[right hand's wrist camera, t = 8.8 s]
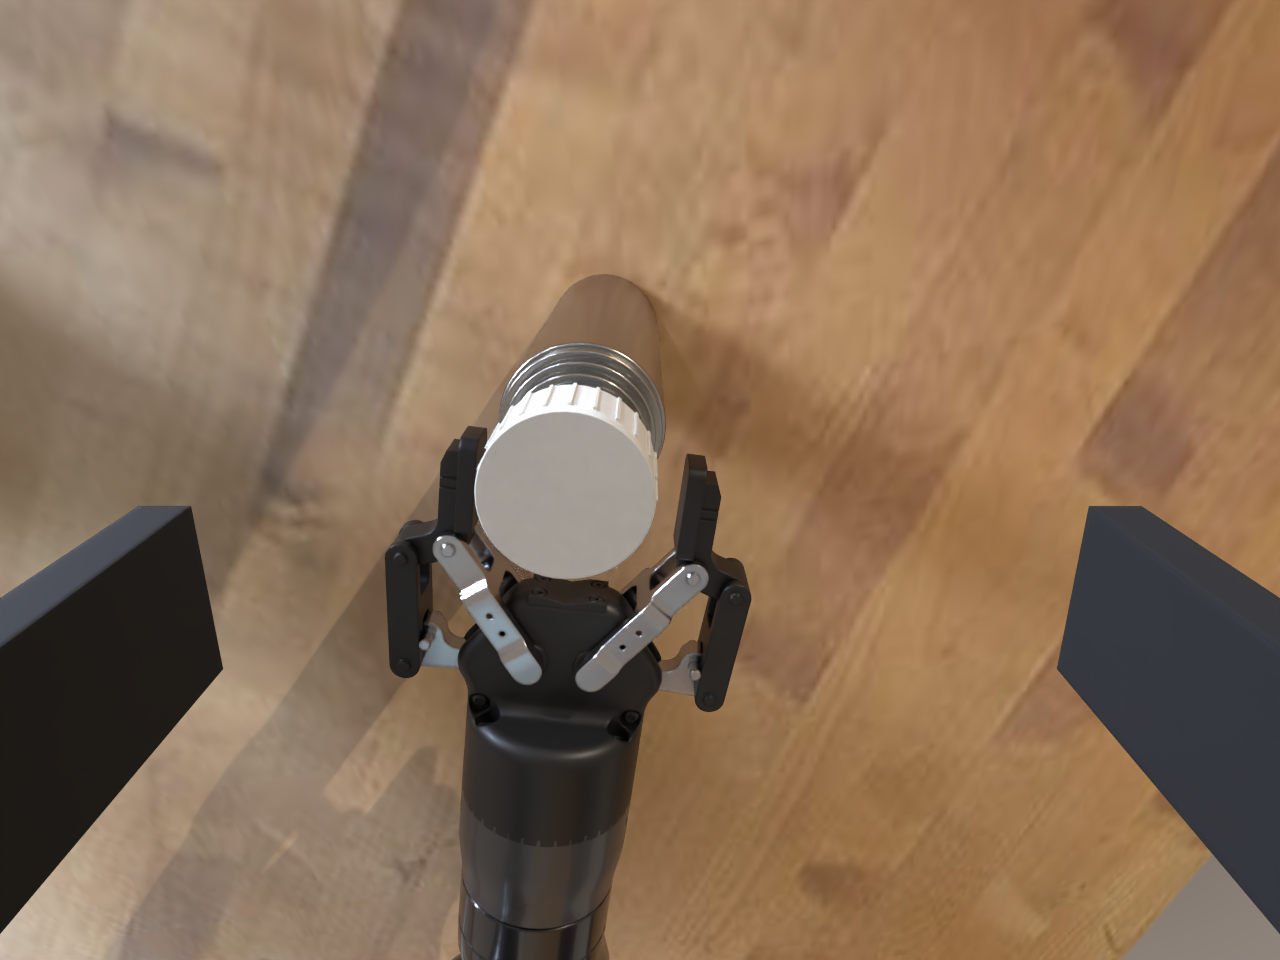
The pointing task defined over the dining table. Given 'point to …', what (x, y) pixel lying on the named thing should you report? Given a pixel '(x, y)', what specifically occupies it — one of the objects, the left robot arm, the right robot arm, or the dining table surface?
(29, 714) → the right robot arm
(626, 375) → the bottle
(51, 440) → the dining table surface
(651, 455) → the cap
